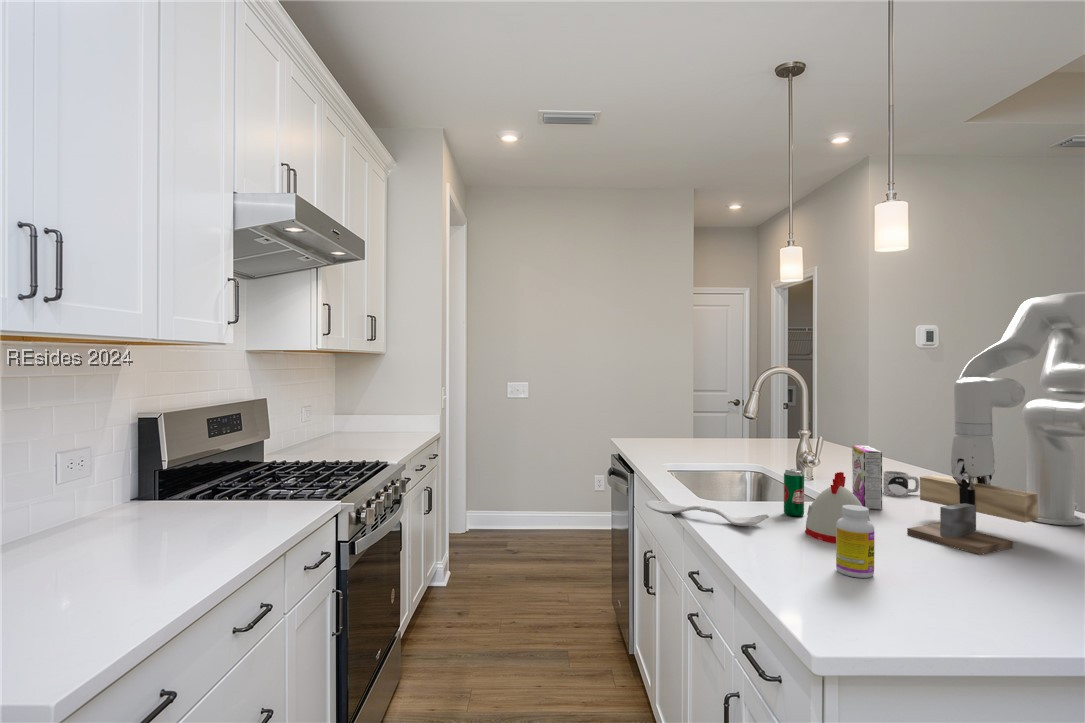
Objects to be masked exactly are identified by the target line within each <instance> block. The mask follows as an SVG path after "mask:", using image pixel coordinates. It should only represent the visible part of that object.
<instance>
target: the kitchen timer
mask: <svg viewBox="0 0 1085 723" xmlns="http://www.w3.org/2000/svg"><path fill="white" fill-rule="evenodd" d="M845 485H846V476H845V474H844V472H842V471H838V472H835V473H834V478H832V484H830V486H829V487H827V488H825V489H824V490H822V491H821V492H820V493H819V494H818V495H817V496H816V498H815V499H814V500H813V501H812V503H811V504H809V505H808V510H807V514H806V515H807V517H806V521H805V533H806V535H807V536H808V537H810V538H813V539H815V540H817V541H821V542H826V543H830V544H836V523H837V521H838V520H839V519H840V518H843V514H842V506H843V505H858V506H862V504H861V503H860V501H859V500H858V499H857V497H856V496H855V495H854V494H853V491H851V490H850V489H847V488H846V487H845ZM867 518H868V521H870V522H871V518H870V514H869V515H868V517H867Z"/></svg>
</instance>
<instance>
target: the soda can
mask: <svg viewBox="0 0 1085 723" xmlns="http://www.w3.org/2000/svg"><path fill="white" fill-rule="evenodd" d="M783 513H784V515H786V516H788V517H792V518H801V517H803V516H804V515H805V474H804V473H803V470H801V469H796V468H795V469H794V468H787V469H785V472H784V473H783Z"/></svg>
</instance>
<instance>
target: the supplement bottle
mask: <svg viewBox="0 0 1085 723" xmlns="http://www.w3.org/2000/svg"><path fill="white" fill-rule="evenodd" d="M842 514H843V518H840V519H839V520H838V521H837V523H836V543H835V545H836V548H835V554H836V555H835V568H836V570H837V571H838V572H839V573H840V574H842V575H843V576H844V575H845V576H848V577H852V578H857V579H858V578H859V579H868V578H871V577H872V576H874V574H875V526H874V523H872V522H871V520H870V521H868V518H867V517H868V515H869V516H870V509H868V508H866V507H863V506H858V505H843V506H842Z"/></svg>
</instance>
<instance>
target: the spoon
mask: <svg viewBox="0 0 1085 723" xmlns="http://www.w3.org/2000/svg"><path fill="white" fill-rule="evenodd" d="M645 506H646V507H648V508H649V509H651V510H652V511H654V512H657V513H661V514H665V515H674V514H676V515H677V514H680V513H681V514H682V513H685V512H690V511H701V512H708V513H712V514H713V513H714V514H716V515H717V516H721V517H722V518H723V519H724V520H725V521H727V522H728V523H730V524H732V525H734V526H738V527H749V526H756V525H758V524H760V523H762V522H764V521H765V520H766V519H768V518H769V515H768V514H764V513H763V514H759V515H756V516H755V515H754V516H743V517H742V516H741V517H734V516H731V515H728V514H727V513H725V512H724V511H721V510H720V509H717V508H713V507H708V506H701V505H691V506H685V505H679V504H674V503H671V502H666V501H661V500H656V499H655V500H653V499H652V500H651V499H649V500H647V501H646V502H645Z"/></svg>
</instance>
